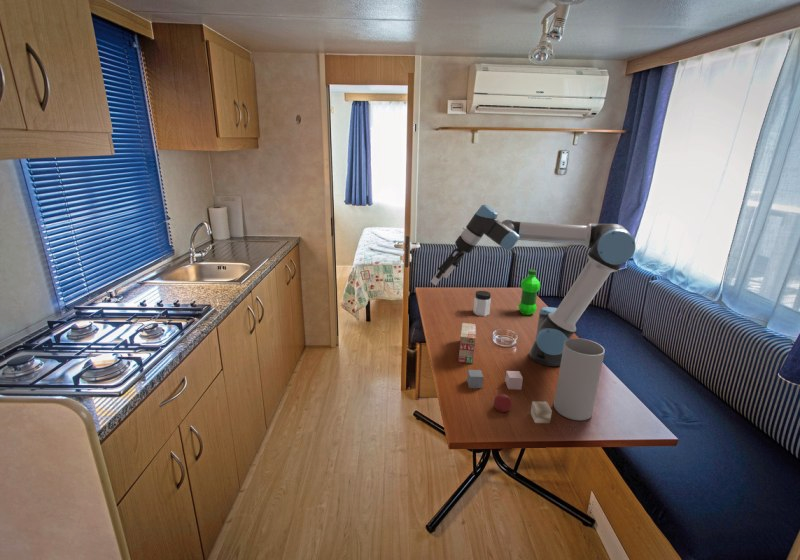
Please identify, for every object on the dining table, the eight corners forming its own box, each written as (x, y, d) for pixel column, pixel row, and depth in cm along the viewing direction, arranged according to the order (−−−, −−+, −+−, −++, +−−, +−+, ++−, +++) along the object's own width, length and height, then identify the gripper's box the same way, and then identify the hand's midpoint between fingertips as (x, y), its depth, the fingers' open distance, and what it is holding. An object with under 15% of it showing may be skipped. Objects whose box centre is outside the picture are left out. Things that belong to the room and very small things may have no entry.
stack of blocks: (460, 340, 194) (462, 316, 191) (474, 342, 193) (476, 318, 190) (458, 362, 174) (460, 336, 171) (473, 364, 173) (475, 337, 170)
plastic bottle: (513, 312, 230) (519, 270, 222) (523, 308, 236) (529, 267, 229) (529, 318, 223) (535, 274, 215) (539, 313, 229) (545, 271, 222)
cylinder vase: (554, 396, 152) (564, 335, 144) (591, 405, 147) (603, 342, 139) (552, 415, 141) (563, 350, 133) (592, 425, 136) (605, 358, 128)
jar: (491, 315, 224) (493, 295, 221) (477, 316, 223) (479, 296, 219) (484, 309, 233) (486, 290, 229) (471, 310, 231) (473, 290, 227)
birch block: (544, 414, 141) (546, 401, 140) (549, 423, 137) (551, 410, 135) (530, 413, 141) (532, 401, 140) (534, 423, 137) (536, 410, 135)
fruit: (508, 410, 146) (505, 387, 148) (514, 412, 140) (512, 388, 142) (491, 411, 145) (489, 388, 147) (497, 413, 140) (495, 389, 141)
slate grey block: (479, 381, 160) (480, 370, 159) (482, 388, 156) (483, 376, 154) (467, 380, 160) (468, 369, 159) (469, 388, 156) (470, 376, 154)
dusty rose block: (517, 382, 160) (519, 371, 159) (521, 389, 156) (522, 378, 154) (505, 382, 160) (506, 370, 159) (508, 389, 156) (509, 377, 154)
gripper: (469, 231, 176) (442, 268, 185) (450, 238, 154) (421, 280, 163) (482, 241, 174) (454, 279, 183) (466, 250, 152) (435, 292, 161)
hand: (439, 279), depth 173 cm, fingers open, 13 cm apart
